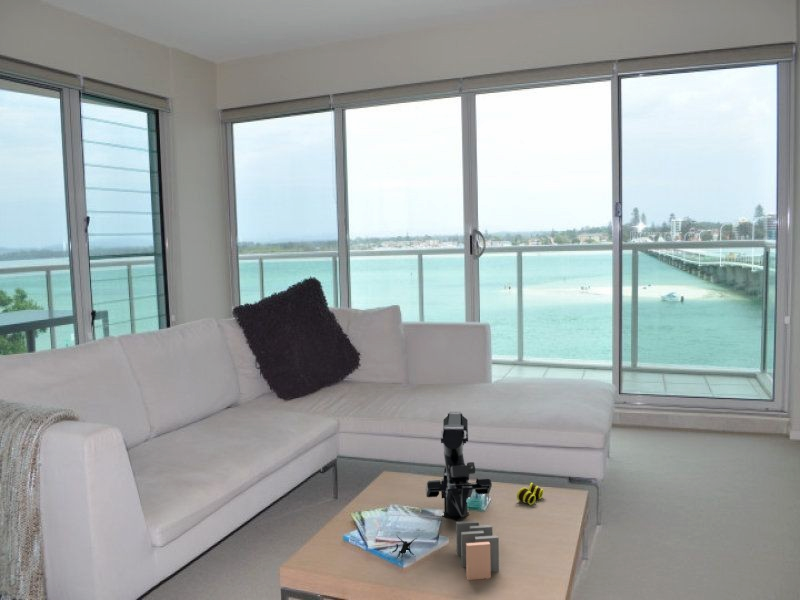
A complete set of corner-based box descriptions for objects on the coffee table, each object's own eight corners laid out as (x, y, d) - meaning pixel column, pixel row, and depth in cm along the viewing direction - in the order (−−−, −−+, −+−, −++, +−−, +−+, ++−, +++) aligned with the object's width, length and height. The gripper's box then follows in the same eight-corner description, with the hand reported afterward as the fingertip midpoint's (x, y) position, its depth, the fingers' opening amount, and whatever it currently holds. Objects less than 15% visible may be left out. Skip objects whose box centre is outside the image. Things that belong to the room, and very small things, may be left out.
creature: (413, 569, 175) (421, 550, 182) (411, 552, 174) (420, 533, 181) (385, 565, 178) (395, 546, 185) (383, 548, 176) (393, 530, 183)
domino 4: (475, 570, 172) (474, 536, 171) (497, 568, 172) (497, 535, 172) (476, 572, 170) (475, 539, 170) (498, 570, 171) (498, 537, 170)
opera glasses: (529, 509, 213) (531, 495, 212) (515, 502, 216) (517, 488, 215) (543, 499, 220) (546, 486, 219) (529, 493, 223) (532, 480, 222)
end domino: (466, 577, 168) (466, 543, 167) (489, 575, 169) (489, 541, 168) (467, 579, 167) (467, 545, 166) (490, 578, 167) (490, 544, 167)
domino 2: (456, 553, 181) (456, 521, 180) (477, 551, 182) (477, 520, 181) (457, 555, 180) (457, 523, 179) (479, 554, 180) (478, 522, 180)
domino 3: (461, 564, 175) (460, 532, 174) (483, 563, 175) (483, 530, 175) (462, 567, 173) (461, 534, 173) (484, 565, 174) (484, 532, 173)
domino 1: (469, 558, 178) (469, 526, 178) (491, 556, 179) (491, 524, 178) (470, 560, 177) (470, 528, 176) (492, 559, 177) (492, 526, 177)
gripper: (426, 453, 189) (432, 505, 179) (489, 450, 191) (499, 501, 180) (423, 471, 197) (429, 522, 187) (484, 468, 199) (493, 518, 189)
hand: (462, 515), depth 186 cm, fingers closed
